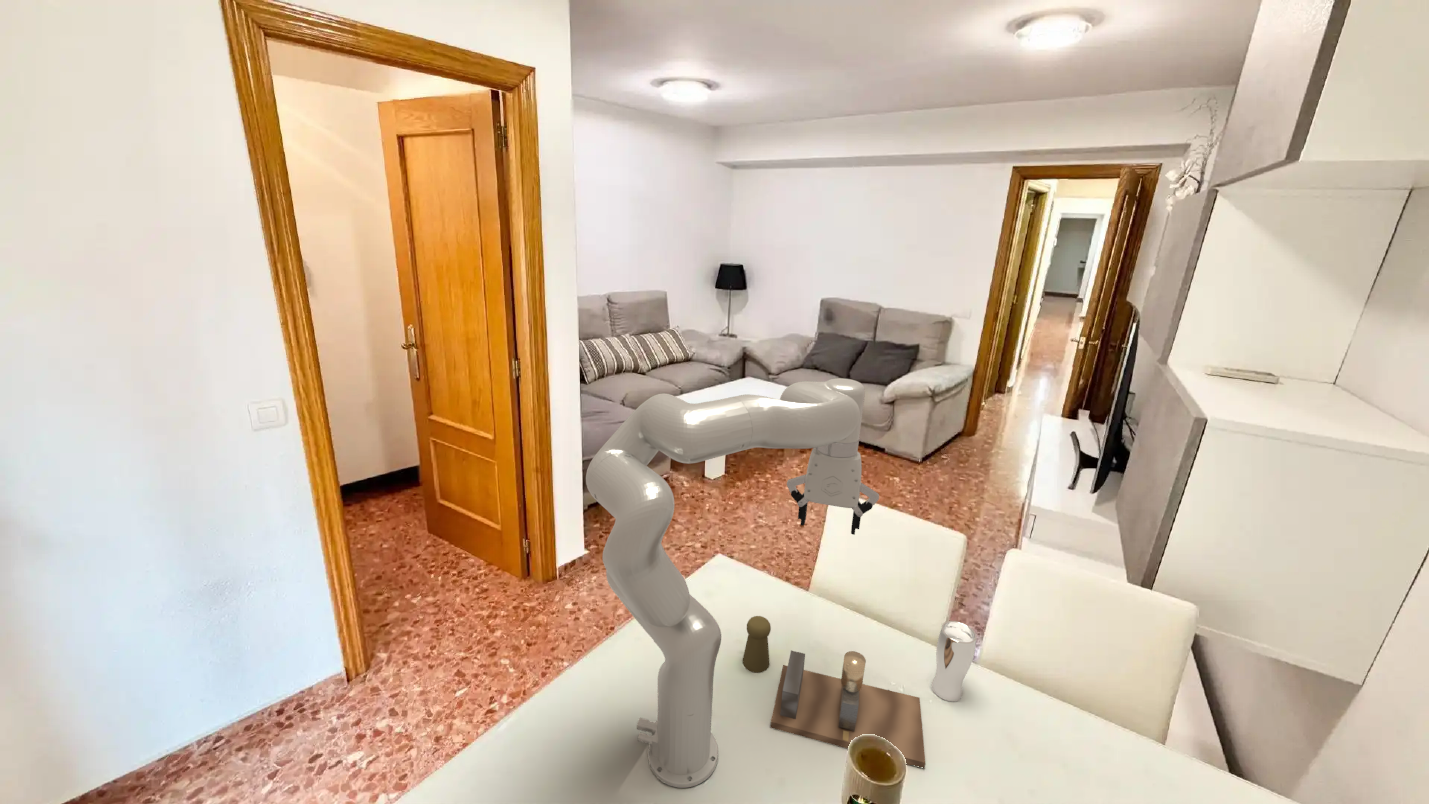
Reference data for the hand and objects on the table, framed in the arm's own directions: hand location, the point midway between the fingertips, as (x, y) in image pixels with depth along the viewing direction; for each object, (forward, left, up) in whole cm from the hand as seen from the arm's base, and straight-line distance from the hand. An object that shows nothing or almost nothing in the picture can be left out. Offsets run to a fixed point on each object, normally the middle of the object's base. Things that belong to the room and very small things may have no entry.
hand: (827, 526), depth 107 cm
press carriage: (+8, -8, -34) cm, 36 cm away
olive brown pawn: (-12, 0, -36) cm, 38 cm away
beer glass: (+28, +5, -36) cm, 46 cm away
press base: (+8, -8, -36) cm, 38 cm away
